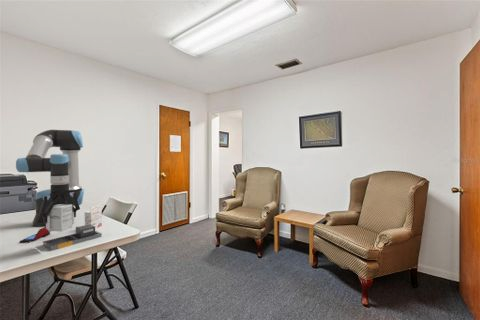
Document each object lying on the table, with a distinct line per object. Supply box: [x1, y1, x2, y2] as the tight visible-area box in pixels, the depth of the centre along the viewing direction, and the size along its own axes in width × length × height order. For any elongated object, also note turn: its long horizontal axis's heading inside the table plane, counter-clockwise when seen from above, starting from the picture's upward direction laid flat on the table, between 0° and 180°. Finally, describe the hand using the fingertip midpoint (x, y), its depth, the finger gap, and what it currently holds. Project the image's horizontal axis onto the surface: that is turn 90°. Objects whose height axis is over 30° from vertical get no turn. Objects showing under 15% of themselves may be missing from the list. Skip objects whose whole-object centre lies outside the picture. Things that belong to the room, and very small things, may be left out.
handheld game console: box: [19, 226, 51, 244], centre depth 127 cm, size 12×11×7 cm
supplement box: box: [48, 204, 73, 232], centre depth 117 cm, size 7×7×13 cm
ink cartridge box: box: [83, 204, 103, 230], centre depth 144 cm, size 9×5×15 cm, turn 168°
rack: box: [42, 230, 102, 251], centre depth 122 cm, size 12×23×3 cm, turn 146°
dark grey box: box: [75, 224, 96, 239], centre depth 127 cm, size 7×7×6 cm
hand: (60, 226), depth 117 cm, fingers closed on supplement box, 10 cm apart
